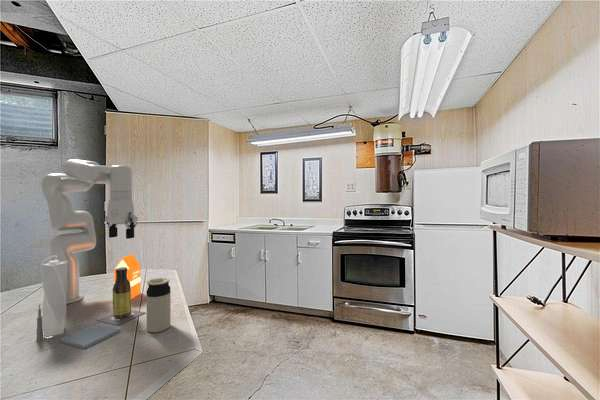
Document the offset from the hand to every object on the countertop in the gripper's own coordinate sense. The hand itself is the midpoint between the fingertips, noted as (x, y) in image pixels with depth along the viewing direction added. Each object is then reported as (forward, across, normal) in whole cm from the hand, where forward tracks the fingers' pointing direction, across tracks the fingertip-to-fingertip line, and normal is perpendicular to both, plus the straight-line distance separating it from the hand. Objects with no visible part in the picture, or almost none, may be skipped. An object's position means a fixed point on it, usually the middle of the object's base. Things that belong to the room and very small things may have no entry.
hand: (121, 237), depth 111 cm
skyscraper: (+33, -10, -18) cm, 39 cm away
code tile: (+33, 0, 0) cm, 33 cm away
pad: (+33, +5, -15) cm, 36 cm away
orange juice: (+33, -19, +17) cm, 41 cm away
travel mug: (+33, +22, -2) cm, 40 cm away
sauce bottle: (+32, 0, 0) cm, 33 cm away
